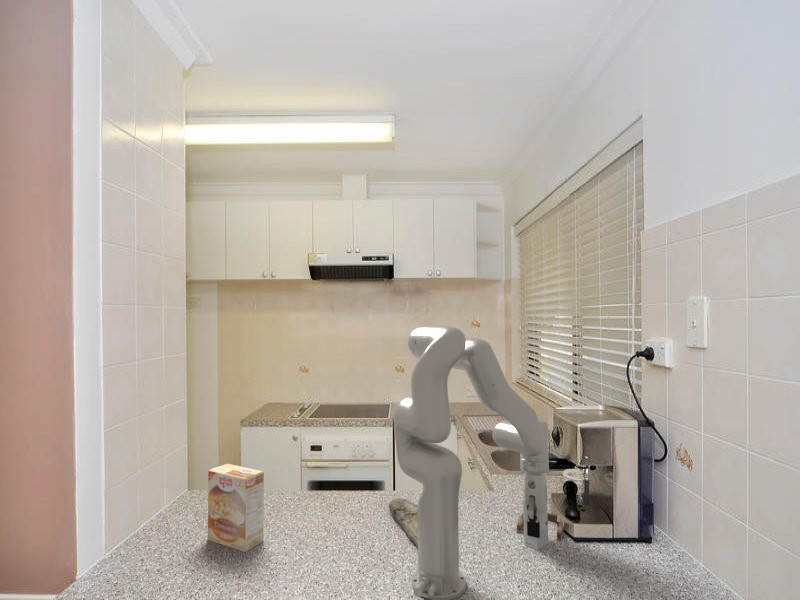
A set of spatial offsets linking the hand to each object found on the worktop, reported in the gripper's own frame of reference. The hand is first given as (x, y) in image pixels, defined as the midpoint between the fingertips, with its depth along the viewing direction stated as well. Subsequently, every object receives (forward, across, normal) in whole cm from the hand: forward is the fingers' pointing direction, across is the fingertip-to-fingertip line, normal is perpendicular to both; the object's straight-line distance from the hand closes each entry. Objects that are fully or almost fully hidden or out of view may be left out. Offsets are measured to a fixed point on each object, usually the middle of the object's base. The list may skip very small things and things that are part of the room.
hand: (535, 529), depth 121 cm
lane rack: (+4, +10, 0) cm, 11 cm away
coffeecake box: (+4, -34, +77) cm, 84 cm away
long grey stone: (+4, -6, +33) cm, 34 cm away
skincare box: (+4, 0, 0) cm, 4 cm away
